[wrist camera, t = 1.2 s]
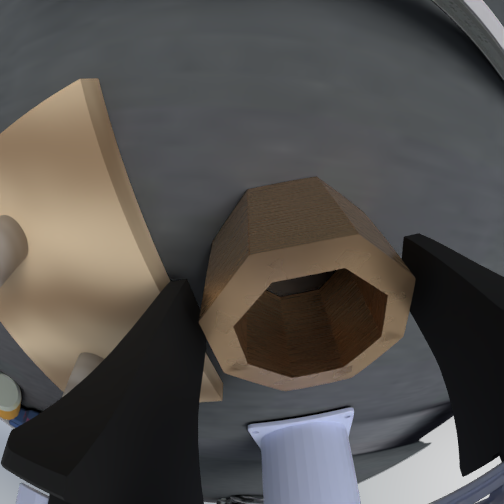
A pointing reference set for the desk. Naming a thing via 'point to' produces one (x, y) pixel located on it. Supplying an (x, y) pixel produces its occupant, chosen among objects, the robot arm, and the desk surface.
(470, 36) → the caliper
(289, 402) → the desk surface
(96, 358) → the wooden peg board
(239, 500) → the bicycle component
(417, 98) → the desk surface
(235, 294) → the ring
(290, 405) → the desk surface
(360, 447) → the desk surface
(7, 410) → the toy blaster gun
